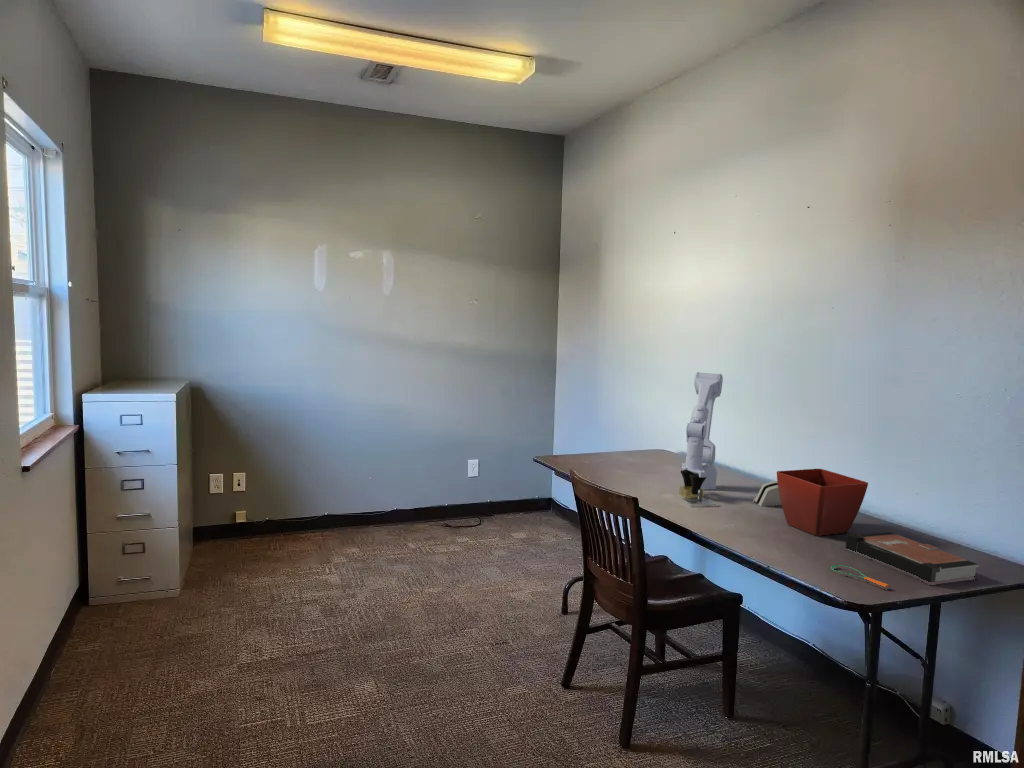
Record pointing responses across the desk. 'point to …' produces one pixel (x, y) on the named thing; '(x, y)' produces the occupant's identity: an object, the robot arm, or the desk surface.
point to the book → (911, 556)
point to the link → (688, 492)
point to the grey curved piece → (768, 495)
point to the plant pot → (820, 500)
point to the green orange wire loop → (863, 577)
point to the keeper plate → (699, 501)
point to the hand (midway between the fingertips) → (691, 492)
